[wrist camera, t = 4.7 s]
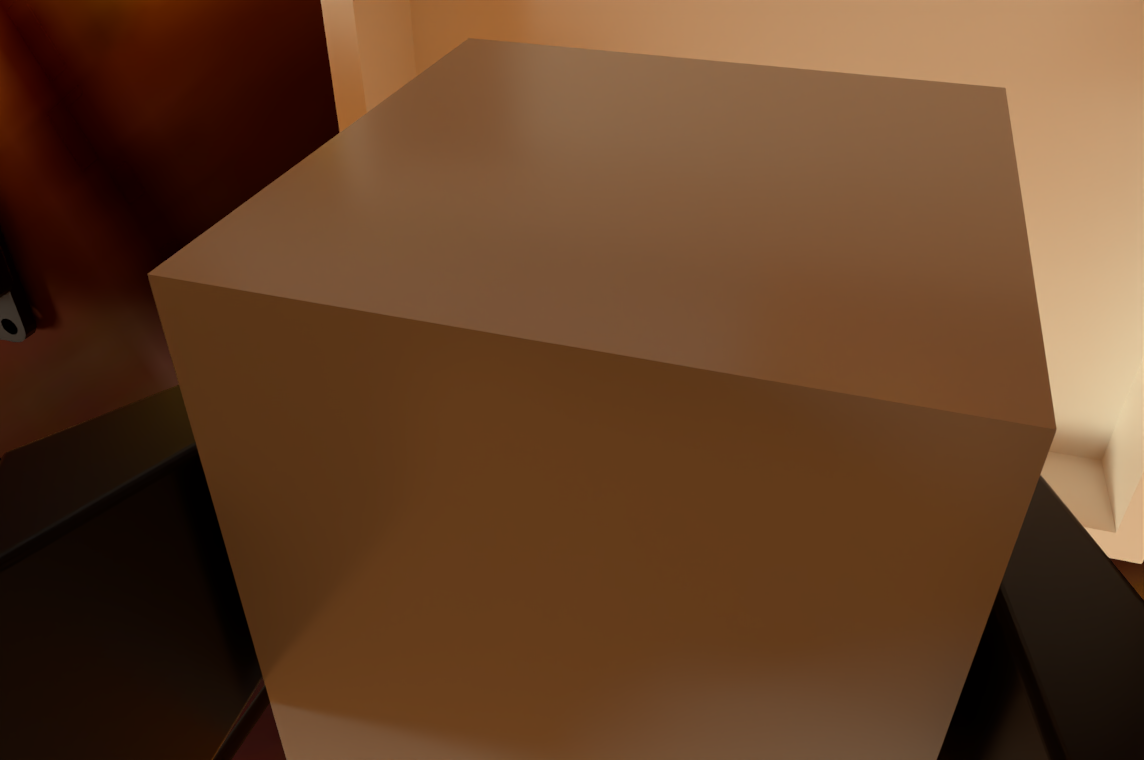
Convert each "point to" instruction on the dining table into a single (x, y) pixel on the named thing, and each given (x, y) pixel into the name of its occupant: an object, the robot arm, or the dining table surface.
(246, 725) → the lollipop
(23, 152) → the dining table surface
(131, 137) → the dining table surface
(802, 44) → the bin
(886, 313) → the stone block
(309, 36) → the dining table surface
